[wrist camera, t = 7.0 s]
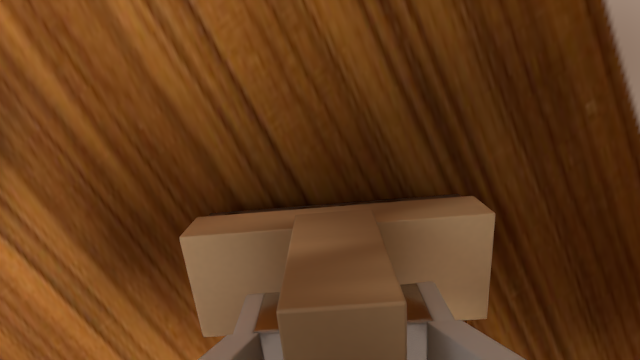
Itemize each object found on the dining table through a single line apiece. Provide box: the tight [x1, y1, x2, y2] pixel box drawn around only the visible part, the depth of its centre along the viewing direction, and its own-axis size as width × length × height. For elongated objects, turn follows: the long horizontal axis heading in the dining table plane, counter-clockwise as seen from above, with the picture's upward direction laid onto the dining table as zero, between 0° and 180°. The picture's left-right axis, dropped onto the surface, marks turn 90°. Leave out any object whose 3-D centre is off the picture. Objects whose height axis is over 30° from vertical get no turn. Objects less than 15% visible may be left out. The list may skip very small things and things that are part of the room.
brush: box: [179, 194, 495, 360], centre depth 10 cm, size 10×5×7 cm, turn 95°
